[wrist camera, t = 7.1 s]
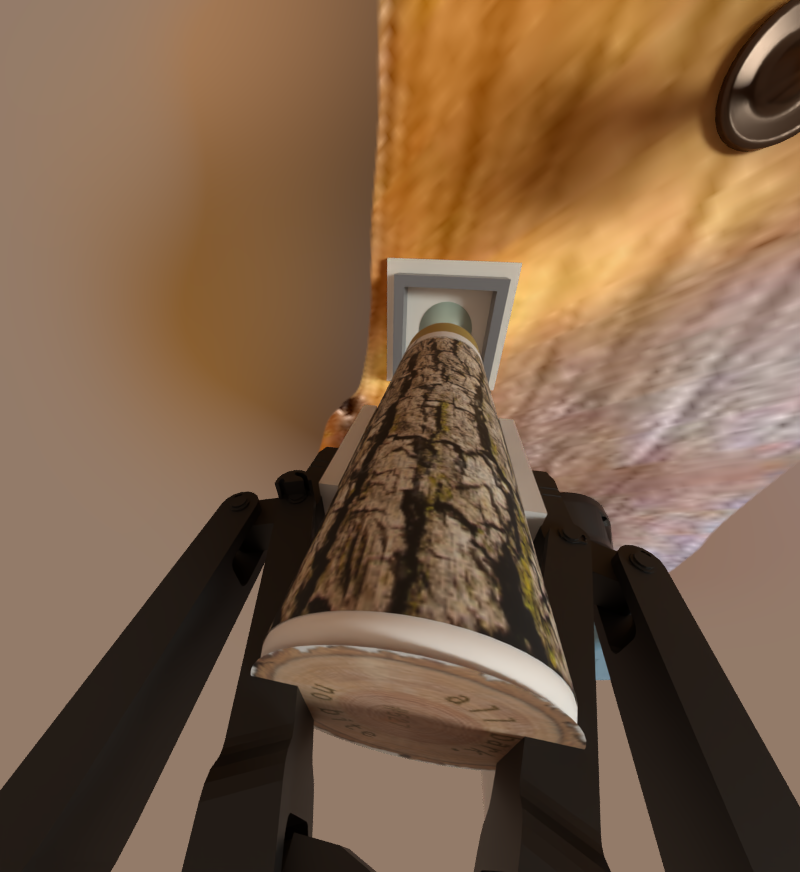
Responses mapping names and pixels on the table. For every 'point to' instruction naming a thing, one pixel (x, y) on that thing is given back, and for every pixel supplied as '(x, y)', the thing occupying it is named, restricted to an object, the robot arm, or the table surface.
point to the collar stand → (450, 304)
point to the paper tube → (427, 583)
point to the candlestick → (763, 86)
